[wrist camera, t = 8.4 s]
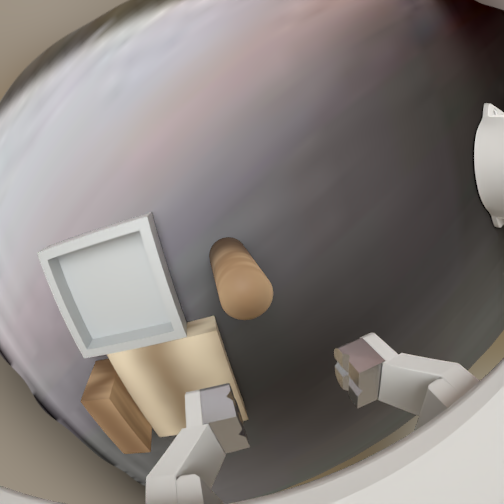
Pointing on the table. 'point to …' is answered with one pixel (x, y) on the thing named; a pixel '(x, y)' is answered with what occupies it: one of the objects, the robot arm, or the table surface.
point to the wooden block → (116, 410)
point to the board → (175, 374)
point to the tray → (115, 288)
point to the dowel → (239, 280)
